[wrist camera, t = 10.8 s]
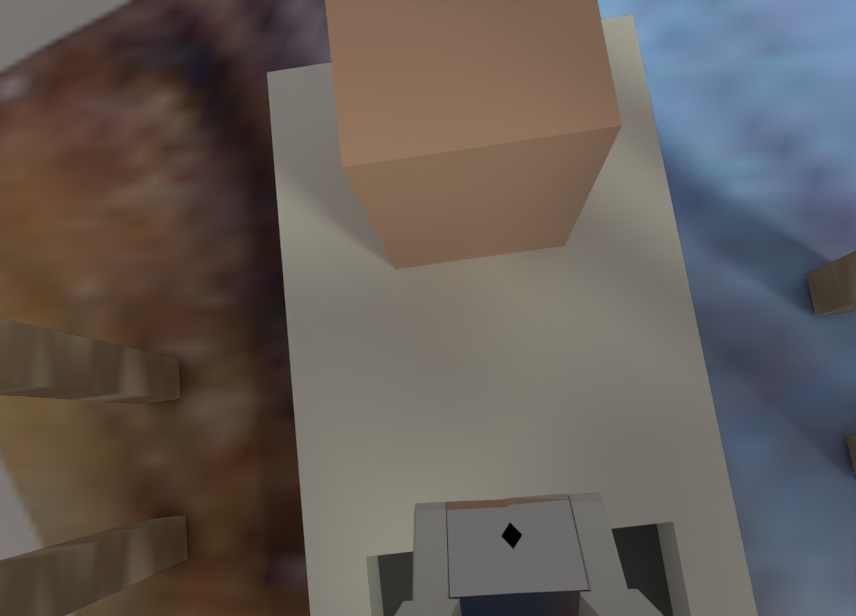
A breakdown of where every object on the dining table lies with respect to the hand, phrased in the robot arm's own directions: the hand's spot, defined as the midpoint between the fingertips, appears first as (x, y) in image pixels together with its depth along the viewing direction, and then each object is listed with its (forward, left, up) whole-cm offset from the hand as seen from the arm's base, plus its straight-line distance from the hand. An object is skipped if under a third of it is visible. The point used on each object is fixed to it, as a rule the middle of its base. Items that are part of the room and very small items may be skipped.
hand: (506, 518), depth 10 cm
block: (+10, -1, -11) cm, 15 cm away
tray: (0, 0, -13) cm, 13 cm away
